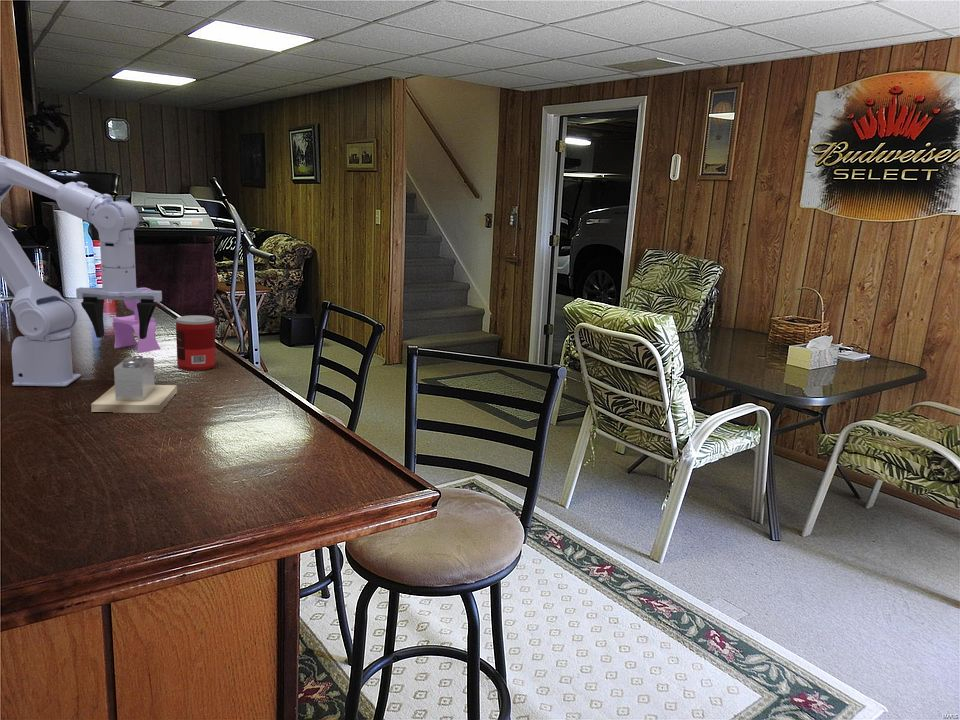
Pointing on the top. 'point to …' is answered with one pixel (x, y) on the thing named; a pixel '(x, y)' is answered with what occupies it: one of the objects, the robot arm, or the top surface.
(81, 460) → the top surface
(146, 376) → the housing
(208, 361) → the canned food
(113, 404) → the stand
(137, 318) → the toy chair
